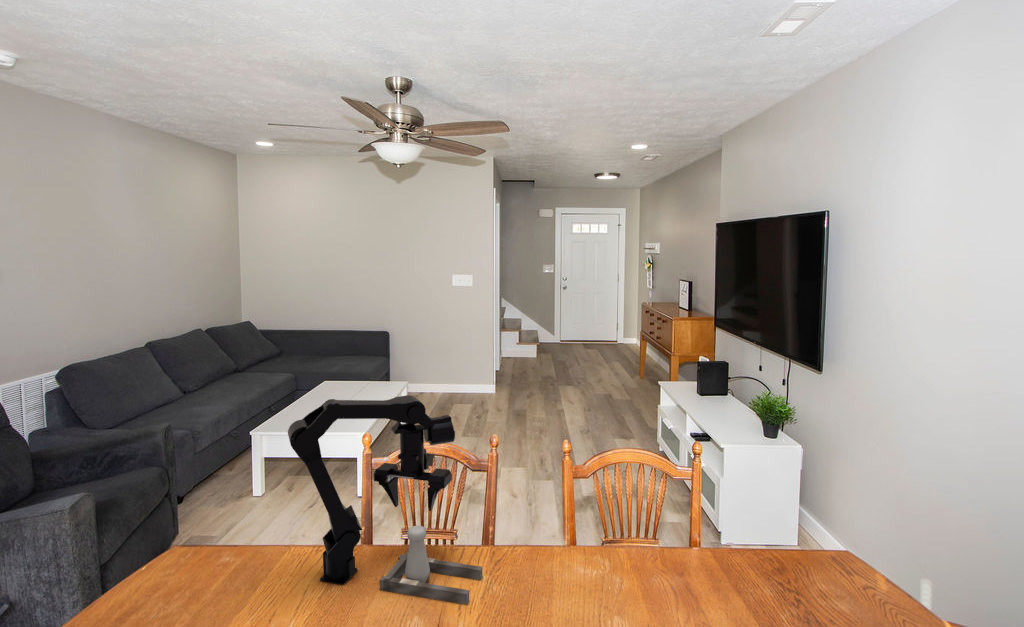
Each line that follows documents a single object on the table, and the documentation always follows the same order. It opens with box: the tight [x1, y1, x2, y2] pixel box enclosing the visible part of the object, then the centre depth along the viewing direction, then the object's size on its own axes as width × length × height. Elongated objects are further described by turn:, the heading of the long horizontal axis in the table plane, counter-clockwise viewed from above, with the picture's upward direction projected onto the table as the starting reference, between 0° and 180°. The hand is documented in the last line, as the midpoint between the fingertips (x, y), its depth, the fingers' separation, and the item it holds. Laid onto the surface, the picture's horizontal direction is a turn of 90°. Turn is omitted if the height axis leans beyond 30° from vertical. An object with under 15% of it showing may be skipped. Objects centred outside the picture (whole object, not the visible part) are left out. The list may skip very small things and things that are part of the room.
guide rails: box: [378, 552, 483, 605], centre depth 133 cm, size 21×11×3 cm, turn 75°
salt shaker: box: [404, 525, 431, 583], centre depth 133 cm, size 6×6×13 cm
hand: (413, 508), depth 142 cm, fingers open, 9 cm apart
